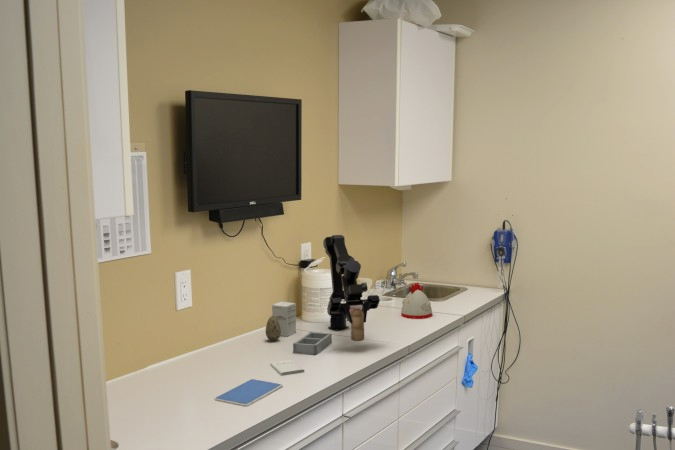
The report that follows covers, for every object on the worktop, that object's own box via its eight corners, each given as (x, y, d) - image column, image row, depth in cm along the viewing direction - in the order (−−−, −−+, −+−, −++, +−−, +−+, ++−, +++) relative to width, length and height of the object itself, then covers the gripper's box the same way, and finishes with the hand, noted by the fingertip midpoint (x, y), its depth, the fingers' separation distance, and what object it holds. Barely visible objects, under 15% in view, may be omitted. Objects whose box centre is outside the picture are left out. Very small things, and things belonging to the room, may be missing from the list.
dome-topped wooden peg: (356, 336, 247) (356, 306, 246) (366, 338, 244) (366, 308, 242) (348, 339, 243) (348, 309, 242) (358, 341, 240) (358, 311, 239)
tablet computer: (246, 409, 190) (246, 404, 190) (212, 401, 196) (212, 397, 196) (283, 388, 207) (283, 384, 207) (251, 382, 213) (251, 378, 213)
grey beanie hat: (394, 315, 298) (394, 283, 296) (415, 310, 307) (414, 279, 305) (418, 320, 287) (418, 287, 286) (438, 315, 297) (438, 282, 295)
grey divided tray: (310, 340, 258) (310, 332, 258) (331, 342, 255) (331, 333, 255) (293, 352, 242) (293, 343, 242) (316, 354, 239) (315, 345, 239)
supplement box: (272, 335, 268) (271, 304, 267) (281, 330, 274) (281, 301, 273) (287, 337, 265) (286, 306, 263) (296, 332, 271) (296, 302, 270)
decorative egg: (272, 337, 264) (272, 313, 263) (284, 340, 260) (283, 315, 259) (262, 341, 259) (262, 316, 258) (274, 343, 255) (273, 318, 254)
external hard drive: (281, 377, 217) (270, 366, 229) (304, 373, 220) (292, 363, 232) (281, 372, 217) (270, 362, 228) (304, 369, 220) (292, 358, 232)
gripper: (329, 276, 243) (336, 312, 233) (378, 273, 247) (387, 309, 237) (325, 293, 251) (332, 328, 242) (372, 290, 255) (381, 325, 246)
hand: (358, 322), depth 241 cm, fingers closed on dome-topped wooden peg, 5 cm apart
